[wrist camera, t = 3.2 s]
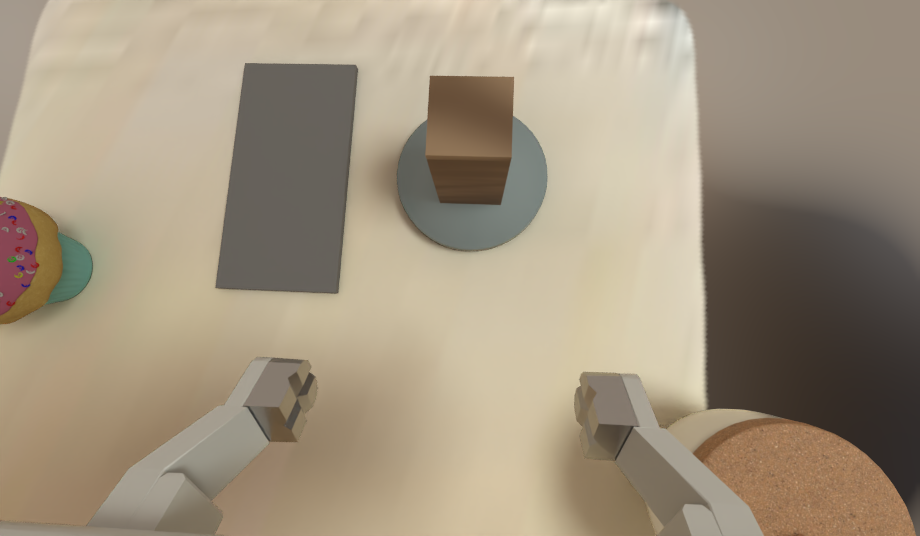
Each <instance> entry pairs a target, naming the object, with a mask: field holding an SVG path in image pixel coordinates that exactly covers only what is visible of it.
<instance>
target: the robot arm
mask: <svg viewBox="0 0 920 536" xmlns="http://www.w3.org/2000/svg"><path fill="white" fill-rule="evenodd" d="M310 369H311V365H310V363H309V361H308V360H298V359H283V358H268V357H256V358H255V359H254V360H253V361H252V362H251V363H250V365H249V366H248V368H247V369H246V371H245V373H244V374H243V376H242V377H241V379H240V380H239V382H238V384H237V385H236V387H235V388H234V390H233V391H232V393H231V395H230V396H229V398H228V399H227V401H226V403H225V404H224V405H219V406H217V407H216V408H214V409H213V410H211V411H210V412H209V413H207V414H206V415H204V416H203V417H201V418H200V419H199V420H197V421H196V422H194V423H193V424H191V425H190V426H189V427H187V428H186V429H184V430H183V431H182V432H180V433H179V434H177V435H176V436H174V437H173V438H172V439H170V440H169V441H167V442H166V443H164V444H163V445H162V446H160V447H159V448H157V449H156V450H154V451H153V452H152V453H150V454H149V455H147V456H146V457H145V458H143V459H142V460H140V461H139V462H137V463H136V464H135V465H133V466H132V467H130V468H129V469H128V471H127V472H126V473H125V475H124V476H123V477H122V479H121V480H120V481H119V483H118V484H117V485H116V487H115V488H114V489H113V491H112V492H111V493H110V495H109V496H108V497H107V499H106V500H105V501H104V503H103V504H102V505H101V507H100V508H99V509H98V511H97V512H96V513H95V515H94V516H93V517H92V519H91V520H90V522H89V523H88V524H87V526H78V525H64V524H49V523H34V522H19V521H4V520H0V536H224V535H215V533H216V531H217V529H218V527H219V524H220V522H221V520H222V518H223V514H222V511H221V510H220V509H219V508H218V507H217V506H216V505H215V504H214V503H213V502H212V500H213V499H214V498H215V497H216V496H217V495H218V494H219V493H220V492H221V491H222V490H223V489H224V488H225V487H226V486H227V485H228V484H229V483H230V482H231V481H232V480H233V479H234V478H235V477H236V476H237V475H238V474H239V473H240V472H241V471H242V470H243V469H244V468H245V467H246V466H247V465H248V464H249V463H250V462H251V461H252V460H253V459H254V458H255V457H256V456H257V455H258V454H259V453H260V452H261V451H262V450H263V449H264V448H265V447H266V446H267V445H268V444H269V441H271V442H298V440H299V438H300V436H301V433H302V431H303V429H304V426H305V424H306V421H307V420H306V417H305V413H306V412H307V411H308V410H309V409H311V408H312V407H313V404H314V402H315V399H316V395H317V389H318V387H317V380H316V377H315V376H314V375H313V374H311V373H310V372H309V371H310ZM579 380H580V384H581V386H580V387H578V388H577V389H576V392H575V396H574V408H575V415H576V420H577V422H578V423H579V424H580V425H581V426H582V430H581V433H580V440H581V444H582V449H583V454H584V458H587V459H599V460H611V461H615V463H616V465H617V466H618V467H619V469H620V470H621V471H622V472H623V474H624V475H625V476H626V478H627V479H628V480H629V482H630V483H631V484H632V486H633V487H634V488H635V489H636V491H637V492H638V493H639V495H640V496H641V497H642V499H643V500H644V501H645V503H646V504H647V505H648V506H649V508H650V509H651V510H652V512H653V513H654V514H655V516H656V517H657V518H658V520H659V521H660V522H661V523H662V525H663V526H664V528H663V529H662V530H661V532H660V533H659V534H658V535H657V536H764V535H763V533H762V531H761V529H760V527H759V525H758V523H757V521H756V519H755V517H754V515H753V513H752V511H751V509H750V507H749V506H748V505H747V504H746V503H745V502H744V501H743V500H741V499H740V498H739V497H738V496H737V495H736V494H735V493H734V492H733V491H732V490H731V489H730V488H729V487H728V486H726V485H725V484H724V483H723V482H722V481H721V480H720V479H719V478H718V477H717V476H716V475H715V474H714V473H713V472H711V471H710V470H709V469H708V468H707V467H706V466H705V465H704V464H703V463H702V462H701V461H700V460H699V459H698V458H696V457H695V456H694V455H693V454H692V453H691V452H690V451H689V450H688V449H687V448H686V447H685V446H684V445H683V444H681V443H680V442H679V441H678V440H677V439H676V438H675V437H674V436H673V435H672V434H671V433H670V432H669V431H668V430H666V429H665V428H660V427H659V425H658V422H657V420H656V417H655V415H654V412H653V410H652V407H651V405H650V402H649V400H648V397H647V395H646V392H645V390H644V387H643V385H642V382H641V380H640V377H639V376H638V375H637V374H618V373H605V372H583V373H582V374H581V376H580V379H579Z"/></svg>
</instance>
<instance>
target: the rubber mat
mask: <svg viewBox="0 0 920 536" xmlns="http://www.w3.org/2000/svg"><path fill="white" fill-rule="evenodd" d="M357 73H358V68H357V66H356V65H331V64H258V63H245V68H244V75H243V83H242V90H241V98H240V106H239V113H238V121H237V128H236V136H235V143H234V151H233V159H232V166H231V174H230V181H229V189H228V197H227V204H226V212H225V219H224V227H223V235H222V242H221V250H220V257H219V265H218V273H217V280H216V288H226V289H249V290H272V291H296V292H319V293H338V289H339V278H340V266H341V255H342V244H343V232H344V221H345V210H346V198H347V187H348V175H349V164H350V153H351V141H352V130H353V119H354V107H355V96H356V85H357Z"/></svg>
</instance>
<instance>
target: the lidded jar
mask: <svg viewBox="0 0 920 536" xmlns="http://www.w3.org/2000/svg"><path fill="white" fill-rule="evenodd" d="M666 430H668V431H669V432H670V433H671V434H672V435H673V436H674V437H675V438H676V439H677V440H678V441H679V442H680V443H681V444H683V445H684V446H685V447H686V448H687V449H688V450H689V451H690V452H691V453H692V454H693V455H694V456H695V457H696V458H698V459H699V460H700V461H701V462H702V463H703V464H704V465H705V466H706V467H707V468H708V469H709V470H710V471H711V472H713V473H714V474H715V475H716V476H717V477H718V478H719V479H720V480H721V481H722V482H723V483H724V484H725V485H726V486H728V487H729V488H730V489H731V490H732V491H733V492H734V493H735V494H736V495H737V496H738V497H739V498H740V499H741V500H743V501H744V502H745V503H746V504H747V505H748V506H749V507H750V509H751V511H752V513H753V515H754V517H755V519H756V521H757V523H758V525H759V527H760V529H761V531H762V533H763V535H764V536H916V534H915V531H914V527H913V523H912V521H911V518H910V516H909V513H908V510H907V508H906V505H905V504H904V502H903V500H902V499H901V497H900V495H899V494H898V492H897V490H896V489H895V487H894V485H893V484H892V483H891V481H890V480H889V479H888V478H887V476H886V475H885V474H884V472H883V471H882V470H881V469H880V468H879V467H878V466H877V465H876V464H875V463H874V462H873V461H872V460H871V459H870V458H869V457H868V456H867V455H866V454H865V453H863V452H862V451H861V450H859V449H858V448H857V447H855V446H854V445H853V444H851V443H850V442H848V441H846V440H844V439H842V438H840V437H839V436H837V435H835V434H833V433H830V432H828V431H825V430H823V429H820V428H817V427H815V426H812V425H809V424H805V423H801V422H797V421H791V420H787V419H783V418H779V417H775V416H772V415H767V414H763V413H758V412H753V411H747V410H737V409H712V410H705V411H701V412H697V413H694V414H690V415H688V416H685V417H683V418H681V419H679V420H677V421H676V422H675V423H673V424H672V425H670V426H669V427H668V428H667V429H666ZM646 506H647V511H648V514H649V517H650V521H651V524H652V526H653V529H654V531H655V533H656V536H657V535H658V534H659V533H660V532H661V530H662V529H663V528H664V526H663V525H662V523H661V522H660V521H659V520H658V518H657V517H656V516H655V514H654V513H653V512H652V510H651V509H650V508H649V506H648V505H647V504H646Z"/></svg>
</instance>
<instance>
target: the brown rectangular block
mask: <svg viewBox="0 0 920 536" xmlns="http://www.w3.org/2000/svg"><path fill="white" fill-rule="evenodd" d="M513 92H514V77H475V76H430V85H429V102H428V118H427V135H426V152H425V156H426V159H427V162H428V166H429V169H430V172H431V175H432V179H433V182H434V185H435V188H436V192H437V195H438V198H439V201H440V203H452V204H485V205H501V202H502V198H503V193H504V189H505V184H506V180H507V176H508V171H509V167H510V163H511V158H512V128H513Z"/></svg>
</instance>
